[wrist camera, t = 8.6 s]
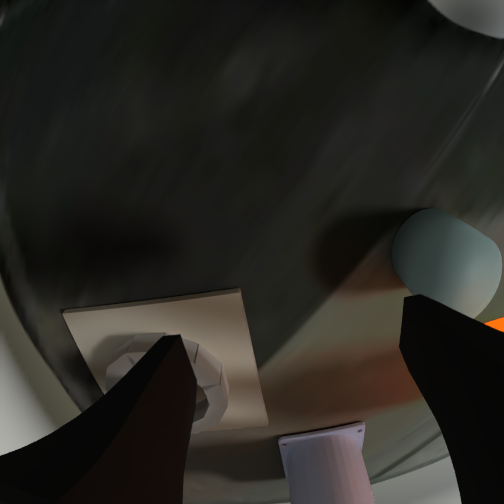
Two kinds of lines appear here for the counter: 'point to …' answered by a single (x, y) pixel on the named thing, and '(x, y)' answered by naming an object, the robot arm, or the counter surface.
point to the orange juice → (497, 324)
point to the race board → (190, 323)
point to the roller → (447, 261)
